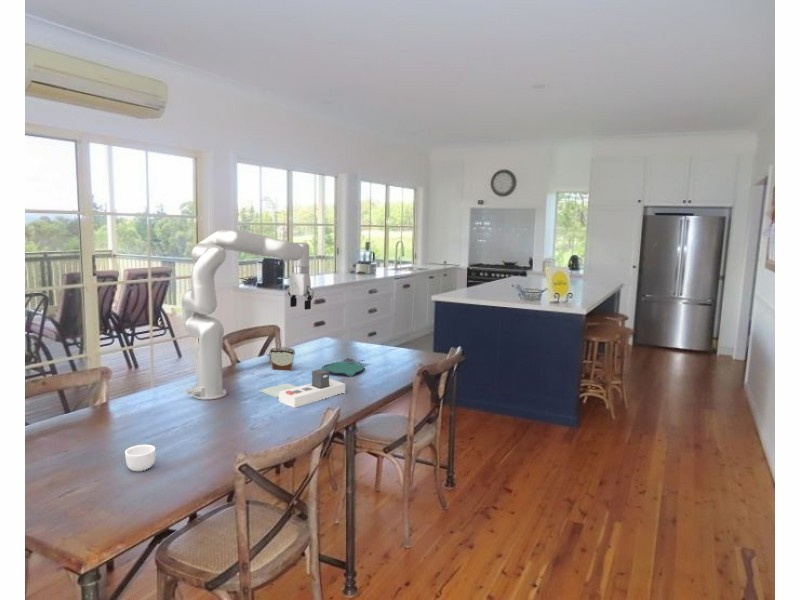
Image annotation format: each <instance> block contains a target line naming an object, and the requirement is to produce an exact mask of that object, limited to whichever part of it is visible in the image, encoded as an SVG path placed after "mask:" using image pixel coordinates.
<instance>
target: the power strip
mask: <svg viewBox="0 0 800 600" xmlns="http://www.w3.org/2000/svg"><path fill="white" fill-rule="evenodd" d="M341 393H344V394H346V383H344V382H341V381H338V380H334V379H332V378H329V387H326V388H322V389H319V388H316V387H313V386H312V382H310V383H307V384H304V385H300V386H296V387H295V388H291V389H287V390H283V391H279V398H278V402H279V403H282V404H284V405H286V406H288V407H292V408H293V409H296V408H299V407H302V406H306V405H309V404H312V403H316V402H319V400H320V401H323V400H326V399H325V398H327V399H329V398H328V397H330V398H332V397H331V396H334V395H337V394H340V395H342V394H341ZM337 396H338V395H337ZM334 397H335V396H334ZM322 399H323V400H322Z"/></svg>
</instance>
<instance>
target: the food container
mask: <svg viewBox="0 0 800 600" xmlns="http://www.w3.org/2000/svg"><path fill="white" fill-rule="evenodd" d="M269 354H270V363H271V370H273V371H282V372H285V371H286V372H292V371H293V365H294V358H295V357H294V356H295V355H296V351H295V349H294V348H293V347H287V346H277V347H273V348H270V349H269Z"/></svg>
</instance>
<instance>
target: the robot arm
mask: <svg viewBox="0 0 800 600" xmlns="http://www.w3.org/2000/svg"><path fill="white" fill-rule="evenodd" d="M225 250H228V251H233V252H240V253H244V254H249V255H255V256H260V257H272V258H278V259H280V260H284V261H285V260H288V261H291V268H292V269H291V273H290V277H289V284H288V285H289V286H288V287H287V288H286V289H287V294H288V295H289V297H288V298H289V299H290V300H289V302H290V305H289V306H290V307H291V308H294V307H295V308H296V307H297V302H298V300H297V296H298V297H303V299H305V300H304V310H311V308H312V305H311V304H312V300H313V298H314V295H315V290H314V289H312V287H311V286H312V285H311V284H312V283H311V275H310V245H309V244H308V242H293V241H289V240H284V239H279V238H276V237H269V236H266V235H262V234H257V233H252V232H248V231H244V230H239V229H235V228H221V229H218V230H216V231H215V232H213V233H212V234H210V235H209V236H207V237H206V238H204V239H203V240H201V241H200V242H198V243H196V244H195V245H194V246H193V248H192V249H191V253H190V254H191V259H192V261H193V262H194V265H193V268H192V270H191V272H190V273H191V274H190V287H191V288H189V289H187V290H186V291H185V292H184V294H183V296H182V299H181V308H182V309H181V310H182V316H183V321H184V328H185V330H186V331H185V332H187V334H188V335H189V336H190V337H193V338H195V339H198V343H197V346H196V352H195V355H196V384H194V386H193V387H192V388H188V389H185V391H184V392H185V395H186V396H187V395H191V394H192V396H193V398H195V399H197V400H204V401H205V400H207V401H208V400H216V399H217V400H218V399H221V398H223V397H225V396H226V395H227V389H225V388H223V351H222V350H223V347H222V346H223V339H224V334H225V333H224V332H225V331H224V325H223V324H222V322H221V321H220V320H218V319H217V318H215V317H211V316H209V315H211V314H213V313H215V311H216V309H217V306H218V302H217V294H216V293H217V292H216V286H215V275H216V272H217V270H218V269H219V268H220V267H221V265H223V264H224V263H225V261H226V256H227V255H226V254H227V253H226V251H225Z"/></svg>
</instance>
